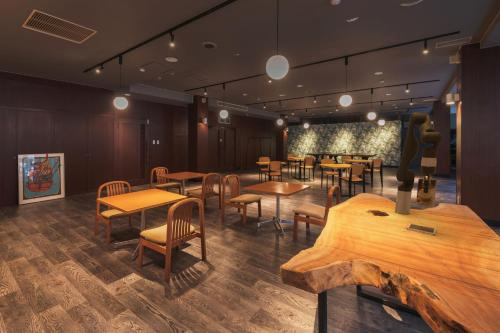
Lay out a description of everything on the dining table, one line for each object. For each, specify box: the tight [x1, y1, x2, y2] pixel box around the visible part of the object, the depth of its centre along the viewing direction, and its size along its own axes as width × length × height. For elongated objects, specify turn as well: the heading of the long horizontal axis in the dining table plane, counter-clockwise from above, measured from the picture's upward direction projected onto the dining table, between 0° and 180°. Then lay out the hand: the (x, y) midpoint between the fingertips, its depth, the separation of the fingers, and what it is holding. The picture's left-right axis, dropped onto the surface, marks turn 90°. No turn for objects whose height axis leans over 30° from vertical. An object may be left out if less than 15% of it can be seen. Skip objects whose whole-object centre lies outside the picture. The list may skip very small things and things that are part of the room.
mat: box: [406, 222, 437, 236], centre depth 154 cm, size 14×12×1 cm
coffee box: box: [415, 177, 438, 208], centre depth 151 cm, size 9×6×16 cm
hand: (426, 192), depth 151 cm, fingers closed on coffee box, 6 cm apart
